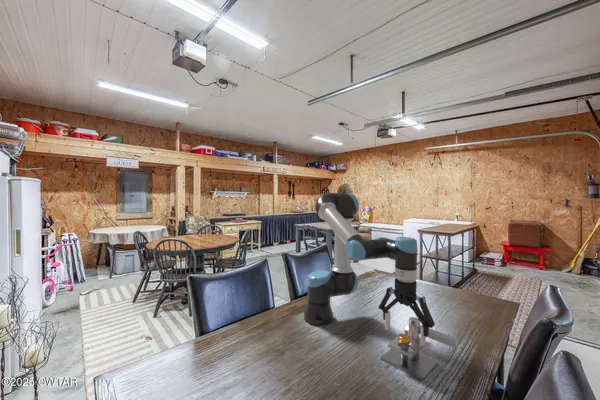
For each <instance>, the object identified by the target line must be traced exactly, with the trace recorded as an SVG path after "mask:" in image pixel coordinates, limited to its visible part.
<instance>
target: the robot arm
mask: <svg viewBox="0 0 600 400" xmlns="http://www.w3.org/2000/svg"><path fill="white" fill-rule="evenodd" d="M314 208H315V209H314V210H315V212H316V214H317V215H318V217H319V219H321V220H323V221H324V222H326V224H327V225H328V226H329V227H330V228H331V230H332V231H333V232H334V255H333V256H334V263H333V266H332V267H331V272H330V271H328V270H315V271H313V272H311V273H310V274H308V276H307V303H306V306H305V308H304V309H305V310H304V313H303V320H304V321H306V323H308V324H311V325H315V326H326V325H329V324H330V323H332V322H333V321H334V312H333V311H332V310H333V309H332V306H331V298H333V297H338V296H339V297H340V296H348V295H351V294H354V293H355V292H356V291H357V289H358V286H359V279H358V276H357V274H356V272H355V271H354V268H353V267H352V266H351V265H352V263H351V261H354V262H355V261H357V262H358V261H359V262H360V261H366V260H367V261H368V260H376V259H390V260H392V261H394V263H395V264H394V277H395V279H394V288H393V287H392V286H389V287H387V288H386V292H385V295H384V296H383V298H382V299H381V302H380V304H379V305H378V309H379V310H381V311H382V312H383V313H382V319H383V321H384V330H385V331H388V330H389V329H391V311H390V310H391V308H393V307H394V306H395V305H396V304H397V303H399V304H400V305H404V306H406V307H409V308H410V309H411V310H412V311H413V313H414V314H415V316H416V318H418V319H419V320H420V325H422V326H421V339H420V345H421V346H423V345H424V346H425V345H426V344H427V342H426V341H427V338H428V337H427V336H428V335H429V328H430V329H433V327H434V326H435V325H436V323H435V321H434V319H433V316H432V314H431V311H430V310H429V308H428V304H427V300H426V296H424V295H423V296H418V294H417V285H418V283H417V282H418V281H417V279H418V275H417V274H418V252H419V251H418V250H419V249H418V240H417V239H416V238H414V237H411V236H410V237H409V236H397V237H396V238H395V239H391V238H388V237H381V236H379V237H377V238H374V239H365V238H364V237H363V236H362V235H361V234H360V233H359V232H358V230H356V229H355V228H354V226H353V225H352V221H353V220H354V219H355V215H357V214H358V213H359V211H360V210H359V209H360V203H359V200H358V198H357V197H356V195H355V194H353V193H349V192H326V193H323V194H321V195H320V196H318V198H317V199H316V201H315V205H314ZM392 294H393V295H394V296H395V298H394V299H393V300H392V301H391V302H389V303H388V301H389V299H390V298H391V296H392ZM417 302H418V303H417ZM387 303H388V304H387ZM386 304H387V305H386ZM418 304H419V305H418ZM420 308H421V309H420Z"/></svg>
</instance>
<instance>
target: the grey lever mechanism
mask: <svg viewBox="0 0 600 400" xmlns="http://www.w3.org/2000/svg"><path fill="white" fill-rule="evenodd" d="M421 326H422V324H421V322H420V320H419V319H418V317H414V316H412V317H409V318H408V327H409V336H410V337H411V343H410V344H408V349H407V350H406V349H404V348H402V347H401V342H399V340H398V337H399V335H398V336H396V337H395V338H394V339H393V340H391V341H389V342H388V343H387V347H388V348H389V349H388V350H387V351H386V352H384V353H383V354H382V355H381V356H380V360H382V361H383V362H385V363H387V364H389V365H391V366H393V367H395V368H396V369H399V370H400V371H402V372H404V373H406V374H408V375H409V376H412V377H414V378H415V379H418V380H419V381H420V382H424V381H425V380H426V379H427V377H429V375H430V374H431V373H432V372H433V371H434V369H436V367H437V366H438V365H439V360H437V359H435V358H432V357H430V356H427V355H425V354H423V353H422V352H420V351H422V350H423V349H424V348H425V347H424V346H425V344H424V345H423V346H421V345H420V334H421ZM426 338H429V339H430V340H434V341H437V342H439V343H441V344H444V345H447V346H449V347H452V348H454V349H457V348H458V347H459V338H457V337H454V336H452V335H449V334H446V333H443V332H440V331H438V330H436V329H433V328H430V327H429V335H428V336H427V337H426ZM401 353H402V354H404V355H406V356H408V366H406V367H405V366H402V365H401Z"/></svg>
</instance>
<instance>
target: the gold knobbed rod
mask: <svg viewBox="0 0 600 400" xmlns="http://www.w3.org/2000/svg"><path fill="white" fill-rule="evenodd" d="M398 336H399V337H398ZM398 336H397V337H398V340H399V342H401V347H402V348H404V349H406V350H407V349H408V344H410V343H411V337H410V336H409V335H407V334H405V333H399V334H398ZM401 365H402V366H405V367H406V366H408V356H406V355H404V354H402V353H401Z"/></svg>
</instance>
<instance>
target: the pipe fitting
mask: <svg viewBox="0 0 600 400" xmlns="http://www.w3.org/2000/svg"><path fill="white" fill-rule="evenodd" d="M404 334H407V335H409V325H406V327H405V328H404ZM420 339H421V334H420Z"/></svg>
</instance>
